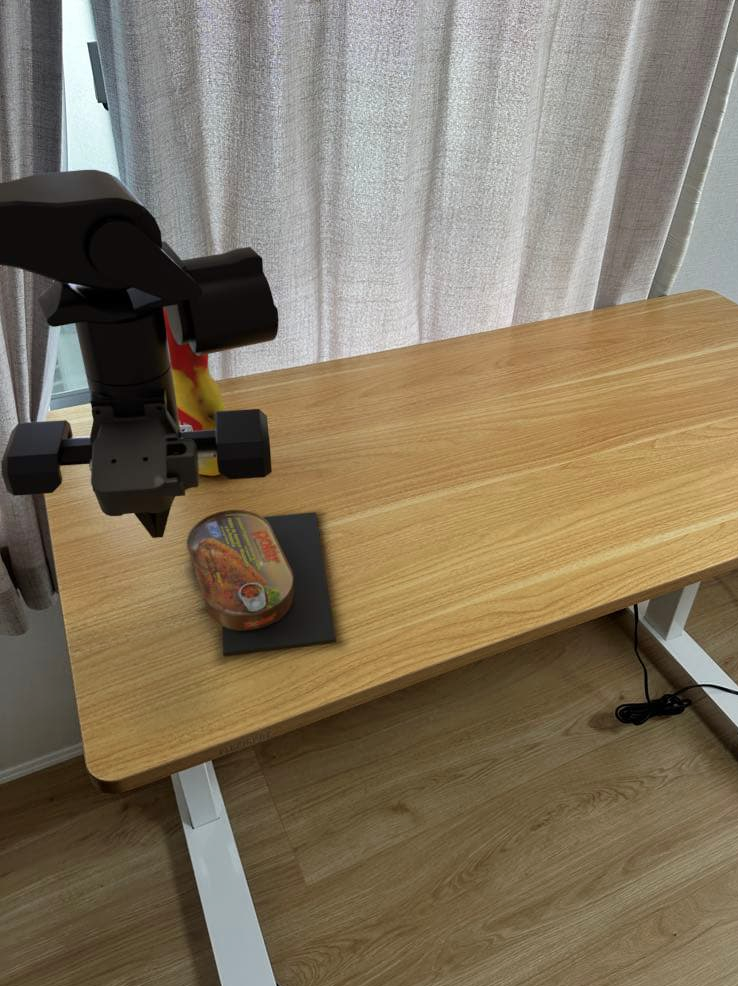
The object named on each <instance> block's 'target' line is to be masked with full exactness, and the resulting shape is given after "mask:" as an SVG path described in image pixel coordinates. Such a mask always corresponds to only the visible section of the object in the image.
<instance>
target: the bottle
mask: <svg viewBox="0 0 738 986" xmlns="http://www.w3.org/2000/svg"><path fill="white" fill-rule="evenodd" d="M163 311H164V318H165V325H166V332H167V339H168V346H169V353H170V361H171V367H172V375H173V382H174V389H175V396H176V403H177V410H178V417H179V425H180V426H183V425H191V426H192V429H193V431H203V430H216V415H215V411H226V408H225V403H224V402H225V401H224V399H223V395H222V391H221V389H220V387H219V385H218V384H217V382H216V381H215V380H214V378H213V377H212V375H211V372H210V369H209V368H210V367H209V354H206V355H201V356H197V355H196V354H195V353H194V352H193V350H192V349H191V347H190V345H189V343H188V344H183V345H179V344H178V343H177V342H176V340H175V338H174V336H173V334H172V331H171V328H170V325H169V321H168V317H167V312H166V307H163ZM198 465H199V475H201V476H211V477H212V476H213V477H214V476H218V475H221V474H220V473H219V472H218V464H217V457H215V458H204V459H198Z"/></svg>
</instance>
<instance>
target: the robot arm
mask: <svg viewBox="0 0 738 986" xmlns="http://www.w3.org/2000/svg"><path fill="white" fill-rule="evenodd" d="M263 261H264V260H263V257H262V256H261V255H260V254H259V253H257V251H255V250H254V249H253V248H252V247H251V246H246V247H240V248H235V249H232V250H229V251H227V252H223V253H218V254H212V255H211V254H210V255H205V256H200V257H193V258H186V259H182V258H181V257H180V256H178V254H177V253H176V252H175V251H174V249H173V248H172V247H171V246H170V245H169V244H168V242H166V241H163V239H162V231H161V228H160V227H159V224H158V222H157V219H156V218H155V217H154V216H153V214H152V213H151V212H150V211H149V210H148V209H147V208H146V206H145V205H143V203H142V202H141V201H140V200H139V199H138V197H136V195H134V193H133V192H132V191H131V190H130V189H129V188H128V187H127V185H126V184H125V183H124V182H123V181H122V180H120V179H119V178H118V177H117V176H115V175H113V174H111V173H109V172H106V171H102V170H98V169H78V170H67V171H54V172H43V173H36V174H31V175H29V176H28V175H27V176H25V177H21V178H17V179H14V180H10V181H5V182H0V266H3V267H11V268H16V269H19V270H22V271H24V272H25V271H26V272H28V273H32V274H34V275H37V276H40V277H43V278H47V279H48V280H52V281H53V282H52V284H51V285H50V286H49V287H47V288H46V289H45V290H44V291H43V292H42V293H41V294H40V295H39V296H38V297H37V300H36V302H37V305H38V307H39V309H40V311H41V313H42V315H43V317H44V319H45V322H46V324H47V325H48V326H49V327H52V328H57V327H61V326H68V325H74V326H75V330H76V334H77V339H78V345H79V349H80V352H81V359H82V362H83V363H82V364H83V367H84V371H85V377H86V382H87V385H88V390H89V395H90V401H89V402H90V407H91V415H92V424H91V425H92V426H91V429H90V435H85V436H74V434H73V430H72V426H71V423H70V422H69V421H68V420H66V419H61V420H46V421H44V420H43V421H30V422H29V421H28V422H27V421H26V422H18V423H17V424H16V425H15V427H14V428H13V429H12V430H11V431H10V435H9V438H8V441H7V444H6V447H5V450H4V453H3V456H2V458H1V459H2V460H1V462H0V464H1V467H0V469H1V476H2V479H3V482H4V485H5V489H6V492H7V493H9V494H10V495H12V496H14V497H16V496H17V497H18V496H29V495H42V494H43V495H44V494H53V493H54V492H55V491H56V490H57V489H58V488H59V487H60V486H62V483H63V475H62V470H61V467H63V466H64V467H66V466H79V465H88V468H89V471H90V472H91V473H90V485H91V487H92V492H93V493H94V495H95V498H96V500H97V502H98V505H99V508H100V510H101V512H102V513H103V514H105V515H106V516H109V517H122V516H123V515H128V514H129V515H130V514H134V515H135V517H136V518H137V519H138V521H139V522H140V523H141V525H142V526H143V528H144V529H145V530H146V531H147V533H148V534H149V536H150V537H151V538H152V539H157V538H158V539H160V538H164V535H165V530H166V527H167V523H168V519H169V515H170V512H171V508H172V505H173V503H174V501H175V499H176V497H185V496H186V491H187V490H190V489H194V488H198V487H200V474H199V465H198V459H204V458H215V457H217V464H218V472H219V473H220V474H219V475H221V476H224V477H225V478H227V479H229V481H231V480H244V479H245V480H246V479H260V478H266V477H267V476H269V475H270V474H272V473H273V472H272V471H273V470H272V455H271V454H272V453H271V442H270V434H269V433H270V431H269V423H268V415H267V414H265V413H264V412H263V410H261V409H260V408H249V409H232V410H225V411H215V415H216V430H203V431H193V429H192V426H191V425H183V426H180V425H179V417H178V410H177V403H176V396H175V389H174V382H173V375H172V367H171V361H170V353H169V346H168V339H167V332H166V325H165V318H164V311H163V307H166V312H167V317H168V321H169V325H170V328H171V331H172V334H173V336H174V338H175V340H176V342H177V343H178V344H179V345H183V344H188V343H189V345H190V347H191V349H192V350H193V352H194V353H195V354H196V355H197V356H201V355H206V354H208V355H210V354H215V353H219V352H225V351H229V350H234V349H239V348H243V347H248V346H249V347H250V346H252V345H253V346H254V345H258V344H263V343H268V342H273V341H275V339H277V336H278V333H279V320H280V319H279V310H278V307H277V306H276V305H275V302H274V297H273V294H272V290H271V286H270V284H269V281H268V278H267V277H266V274H265V272H264V262H263Z"/></svg>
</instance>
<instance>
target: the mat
mask: <svg viewBox="0 0 738 986" xmlns="http://www.w3.org/2000/svg"><path fill="white" fill-rule="evenodd" d="M262 517H263V518H264V519H265V520H267V522H268V523H269V524H270V526H271V528H272V530H273V532H274V535H275V537H276V539H277V541H278V543H279V545H280V547H281V549H282V551H283V553H284V555H285V557H286V559H287V561H288V564H289V566H290V568H291V570H292V572H293V578H294V580H293V589H294V596H293V602H292V605H291V607H290V609H289V610H288V612H287V613H286V614H285V615H284V616H283V617H282V618H281V619H280V620H278V621H277V622H275V623H272V624H270V625H268V626H265V627H262V628H258V629H253V630H248V631H236V630H231V629H228V628H225V627H223V626H222V656H232V655H239V654H249V653H255V652H256V653H257V652H264V651H272V650H281V649H289V648H296V647H297V648H298V647H305V646H313V645H322V644H330V643H336V642H337V640H336V633H335V626H334V620H333V614H332V613H333V612H332V608H331V600H330V593H329V587H328V582H327V580H328V579H327V575H326V568H325V562H324V555H323V549H322V543H321V536H320V530H319V524H318V516H317V512H315V511H311V512H304V513H303V512H302V513H293V514H282V515H271V516H270V515H269V516H262Z"/></svg>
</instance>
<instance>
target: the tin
mask: <svg viewBox="0 0 738 986" xmlns="http://www.w3.org/2000/svg"><path fill="white" fill-rule="evenodd" d="M263 517H264V516H262V515H260V514H258V513H255V512H253V511H251V510H245V509H228V510H223V511H218V512H214V513H212V514H210V515H208V516H205V517H204V518H202V519H201V520H199V521H198V522H197V523H195V524H194V525H193V526H192V528H191V529H190V531H189V532H188V533H187V536H186V540H185V541H186V543H185V544H186V549H187V552H188V554H189V558H190V562H191V565H192V567H193V571H194V573H195V576H196V579H197V582H198V585H199V588H200V591H201V594H202V597H203V600H204V603H205V606H206V610H207V612H208V615H209V616H210V618H211V619H212V620H213V621H214V622H215V623H216V624H217V625H219V626H220V627H222V628H223V627H225V628H228V629H231V630H236V631H248V630H253V629H258V628H262V627H265V626H268V625H270V624H272V623H275V622H277V621H278V620H280V619H281V618H282V617H283V616H284V615H285V614H286V613H287V612H288V610H289V609H290V607H291V605H292V602H293V596H294V589H293V580H294V578H293V572H292V570H291V568H290V566H289V564H288V561H287V559H286V557H285V555H284V553H283V551H282V549H281V547H280V545H279V543H278V541H277V539H276V537H275V535H274V532H273V530H272V528H271V526H270V524H269V523H268V522H267V520H265V519H264V518H263Z"/></svg>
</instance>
